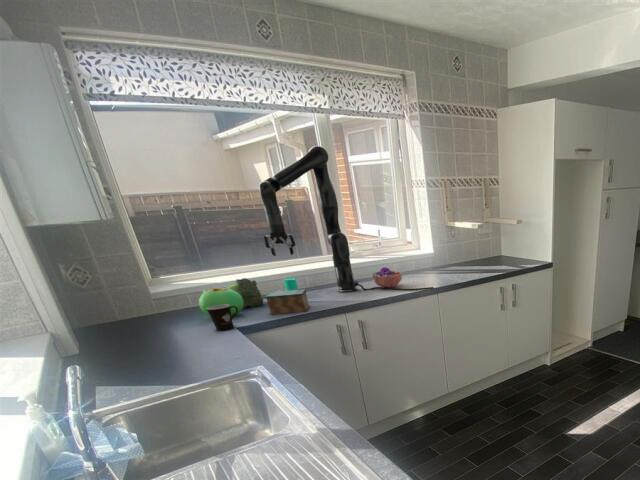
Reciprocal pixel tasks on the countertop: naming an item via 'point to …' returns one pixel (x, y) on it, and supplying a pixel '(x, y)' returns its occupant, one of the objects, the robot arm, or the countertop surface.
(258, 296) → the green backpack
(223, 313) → the coffee mug
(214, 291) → the green round pot
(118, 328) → the countertop surface
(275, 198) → the robot arm
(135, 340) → the countertop surface
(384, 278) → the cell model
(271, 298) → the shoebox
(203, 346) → the countertop surface
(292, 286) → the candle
